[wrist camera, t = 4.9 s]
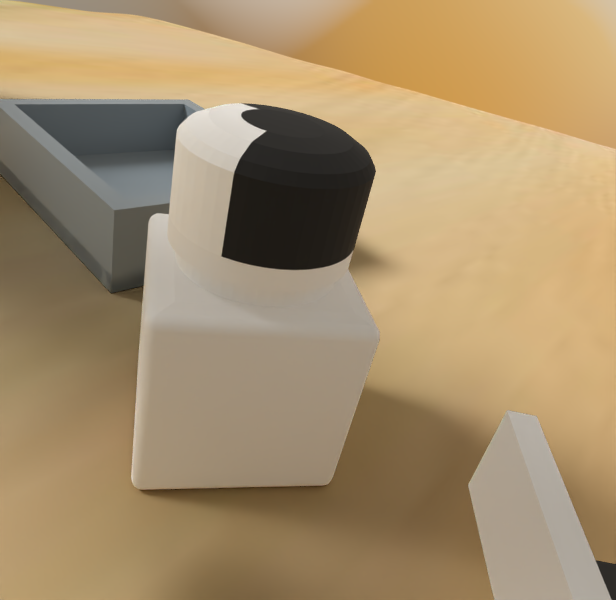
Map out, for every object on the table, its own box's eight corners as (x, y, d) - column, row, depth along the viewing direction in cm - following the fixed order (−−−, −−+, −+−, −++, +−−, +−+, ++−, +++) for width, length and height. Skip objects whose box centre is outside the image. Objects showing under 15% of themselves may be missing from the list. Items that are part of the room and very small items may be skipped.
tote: (-5, 169, 38) (-10, 99, 36) (182, 156, 47) (188, 99, 45) (110, 292, 29) (114, 210, 27) (314, 247, 38) (329, 182, 36)
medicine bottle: (297, 365, 27) (362, 108, 21) (332, 489, 21) (437, 185, 15) (138, 359, 25) (159, 73, 19) (129, 494, 19) (157, 146, 13)
